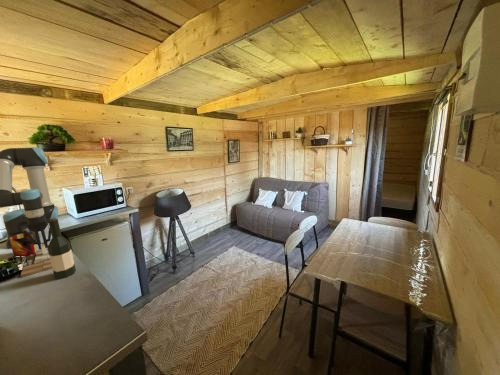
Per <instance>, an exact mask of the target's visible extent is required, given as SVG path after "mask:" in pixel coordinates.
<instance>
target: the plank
mask: <svg viewBox="0 0 500 375" xmlns="http://www.w3.org/2000/svg"><path fill="white" fill-rule="evenodd" d="M36 250H37V252H36V254H35V258H34V262H33V264H36V263H39V262H43V261H46V260H50V257H49V253H48V248H46V251H47V254H44V255H43V252H42V249H40V250H39V249H36Z"/></svg>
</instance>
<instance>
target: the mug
mask: <svg viewBox="0 0 500 375" xmlns="http://www.w3.org/2000/svg"><path fill="white" fill-rule="evenodd" d="M31 235H32V233H31ZM32 236H33V235H32ZM9 240H10V244H11V247H12V248H11V250H12V255H13V257H14V256H20V257H21V256H26V257H30V256H32V255H33V256H36V253H37V250H38V249H37V245H36V244H35V245H33V244H32V242H31V241H30V239H29V238H28V236H27V235H26V234H25V233H23V234H19V235H15V236H12V237H10V238H9Z"/></svg>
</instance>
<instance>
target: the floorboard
mask: <svg viewBox="0 0 500 375" xmlns="http://www.w3.org/2000/svg"><path fill="white" fill-rule="evenodd" d="M49 270H53V269H52V265H51V261H50V260H46V261H43V262H39V263H36V264H34V263H32V264H29V265H25V266H23V267H22V270H21V272H20V278H26V277H28V276H32V275H36V274H39V273H42V272H45V271H49Z"/></svg>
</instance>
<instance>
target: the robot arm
mask: <svg viewBox="0 0 500 375" xmlns="http://www.w3.org/2000/svg"><path fill="white" fill-rule="evenodd" d="M47 164H49V161H48V158H47V157H46V154H45V151H44V149H42V147H8V148H5V149H2V150H0V209H2V208H7V207H8V208H9V207H15V206H23V208H20V209H16V210H12V211H8V212H6V213H4V214H3V215H2V219H3V224H4V226H5V230H6V235H7V239H6V243H5V244H6V245H5V246H6V248H7V249H12V247H11V244H10V240H9V238H10V237H12V236H15V235H19V234H23V233H25V234H26V235H27V236H28V238H29V239H30V241H31V242H32V244H33V245H35V246H38V247H37V248H38V250H40V249H42V252H43V255H44V254H47V251H46V248H47V247H48V245H49V243H50V241H51V239H52V235H51V230H50V226H49V221H50V219H52V218H56V219H57V220H58V221H59V208H58V206H57V205H55V203H53V202H51V198H50V193H49V192H50V191H49V188H48V183H47V179H46V175H45V174H46V173H45V170H44V169H45V168H46V167H47ZM17 166H22V167H21V168H22V169H23V170H25V171H26V175H27V179H28V180H27V181H28V184H29V189H23V190H21V191H15V192H13V169H14V168H15V167H17ZM46 228H48V234H47V236H46V233H45V229H46ZM39 232H40V233H41V237H42V241H43V242H41V239H40V234H39ZM31 233H32V235H33V236H32V235H31ZM48 242H49V243H48Z"/></svg>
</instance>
